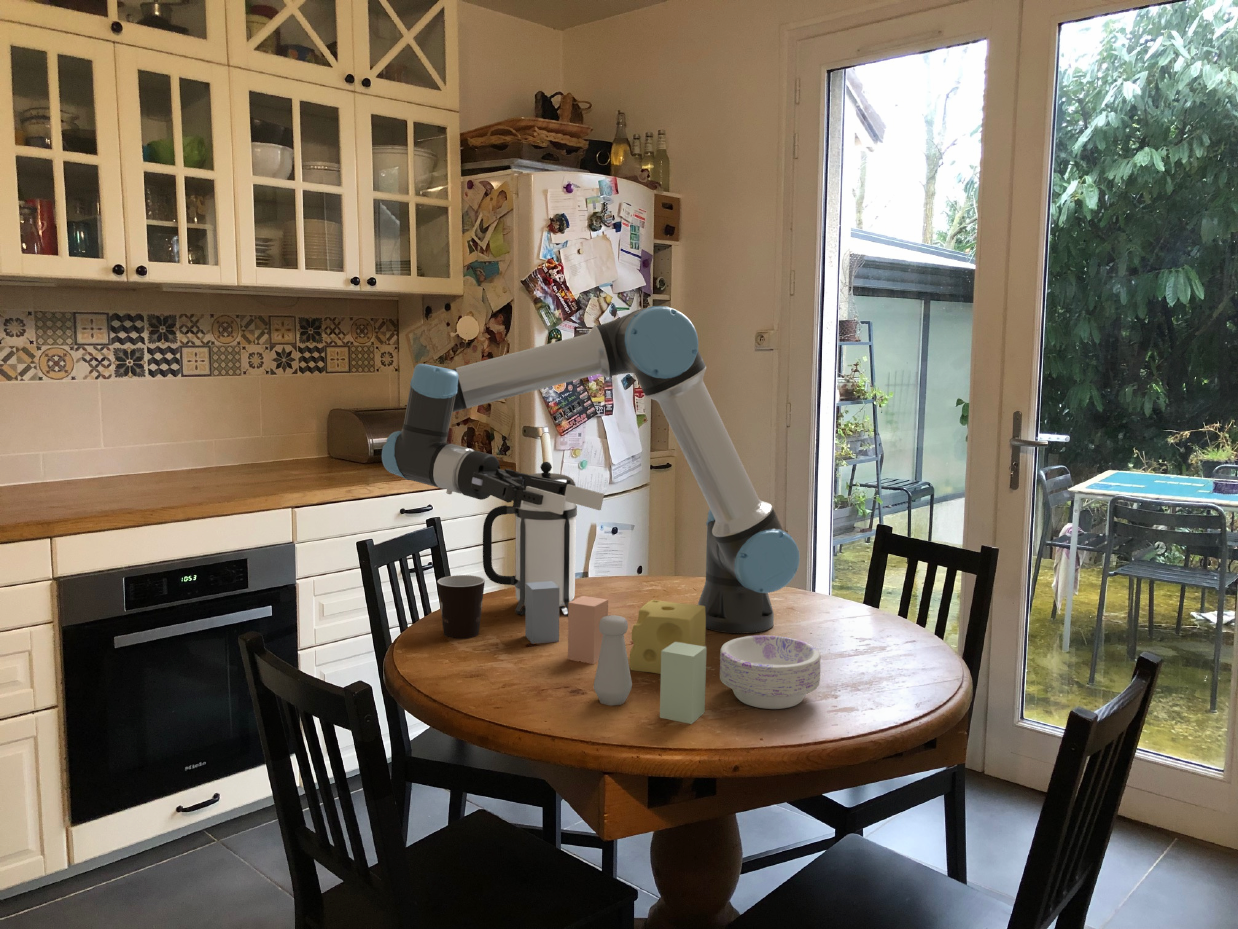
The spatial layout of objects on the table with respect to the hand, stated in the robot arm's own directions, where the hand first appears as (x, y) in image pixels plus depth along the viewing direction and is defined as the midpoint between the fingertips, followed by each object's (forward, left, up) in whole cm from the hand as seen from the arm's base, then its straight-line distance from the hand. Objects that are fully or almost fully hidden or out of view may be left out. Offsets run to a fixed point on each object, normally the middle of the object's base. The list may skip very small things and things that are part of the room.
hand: (583, 503), depth 150 cm
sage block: (-13, +14, -29) cm, 35 cm away
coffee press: (+3, -45, -29) cm, 54 cm away
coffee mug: (+18, -31, -29) cm, 46 cm away
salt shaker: (-4, +7, -29) cm, 30 cm away
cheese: (-16, -8, -29) cm, 34 cm away
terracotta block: (-3, -14, -29) cm, 32 cm away
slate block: (+4, -25, -29) cm, 39 cm away
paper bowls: (-28, +9, -29) cm, 42 cm away
